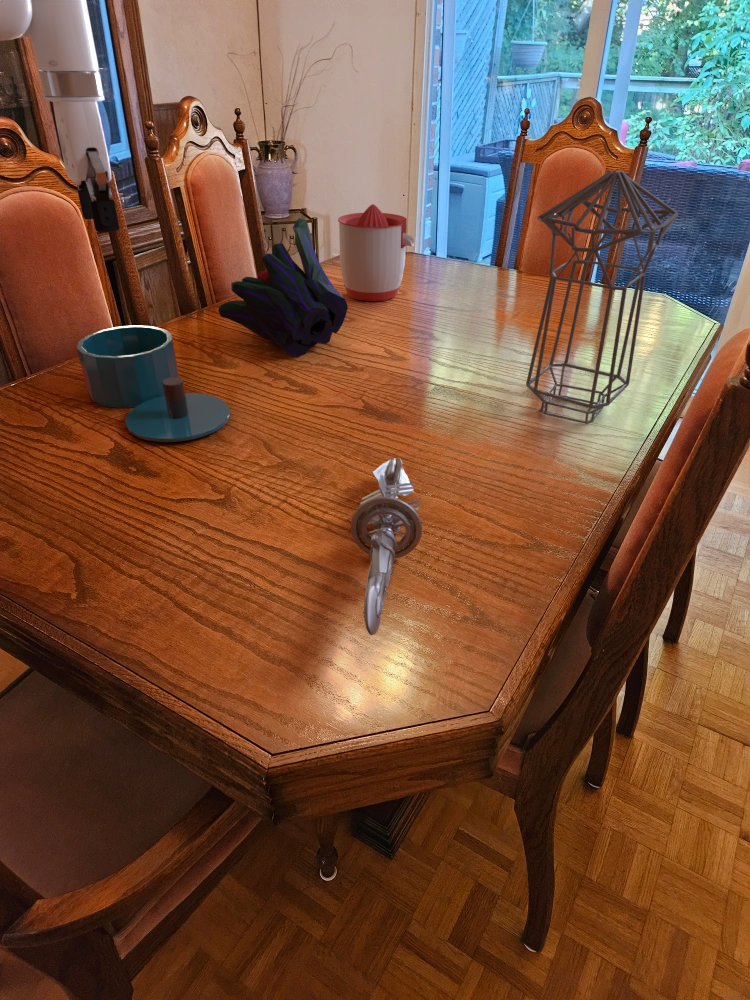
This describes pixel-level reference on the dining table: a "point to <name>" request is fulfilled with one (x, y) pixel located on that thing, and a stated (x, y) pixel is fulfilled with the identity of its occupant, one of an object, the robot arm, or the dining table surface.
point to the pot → (127, 364)
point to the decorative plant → (289, 299)
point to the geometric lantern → (549, 219)
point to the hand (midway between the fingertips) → (101, 224)
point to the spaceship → (385, 534)
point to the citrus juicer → (373, 253)
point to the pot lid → (177, 415)
